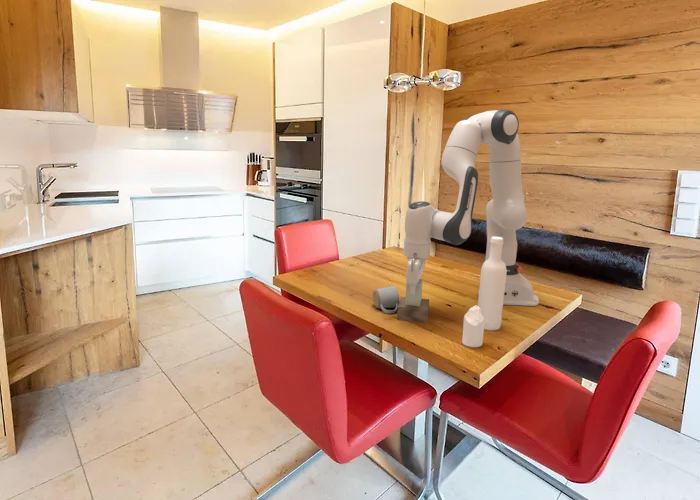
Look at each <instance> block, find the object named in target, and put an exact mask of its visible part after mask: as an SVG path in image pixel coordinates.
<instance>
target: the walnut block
mask: <svg viewBox="0 0 700 500" xmlns="http://www.w3.org/2000/svg"><path fill="white" fill-rule="evenodd" d="M405 298H406V296H400V298H399V304H398V308H397V311H396V313H397V314H396V315H397V318H396V319H397V320H398V321H408V322H416V323H417V322H418V323H428V317H429V312H430V311H429V309H430V299H428V298H422V299H421V304H420V306H412V305H405Z"/></svg>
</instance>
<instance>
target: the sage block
mask: <svg viewBox="0 0 700 500" xmlns="http://www.w3.org/2000/svg"><path fill="white" fill-rule="evenodd" d="M423 281H424V279H421V278H420V279H419V281H418V283H417V285H416V293H415V295H413V294H410V284H407V283H406V282H405V297H406V298H405V305H412V306H420V304H421V299H423V298H422V295H423Z"/></svg>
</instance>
